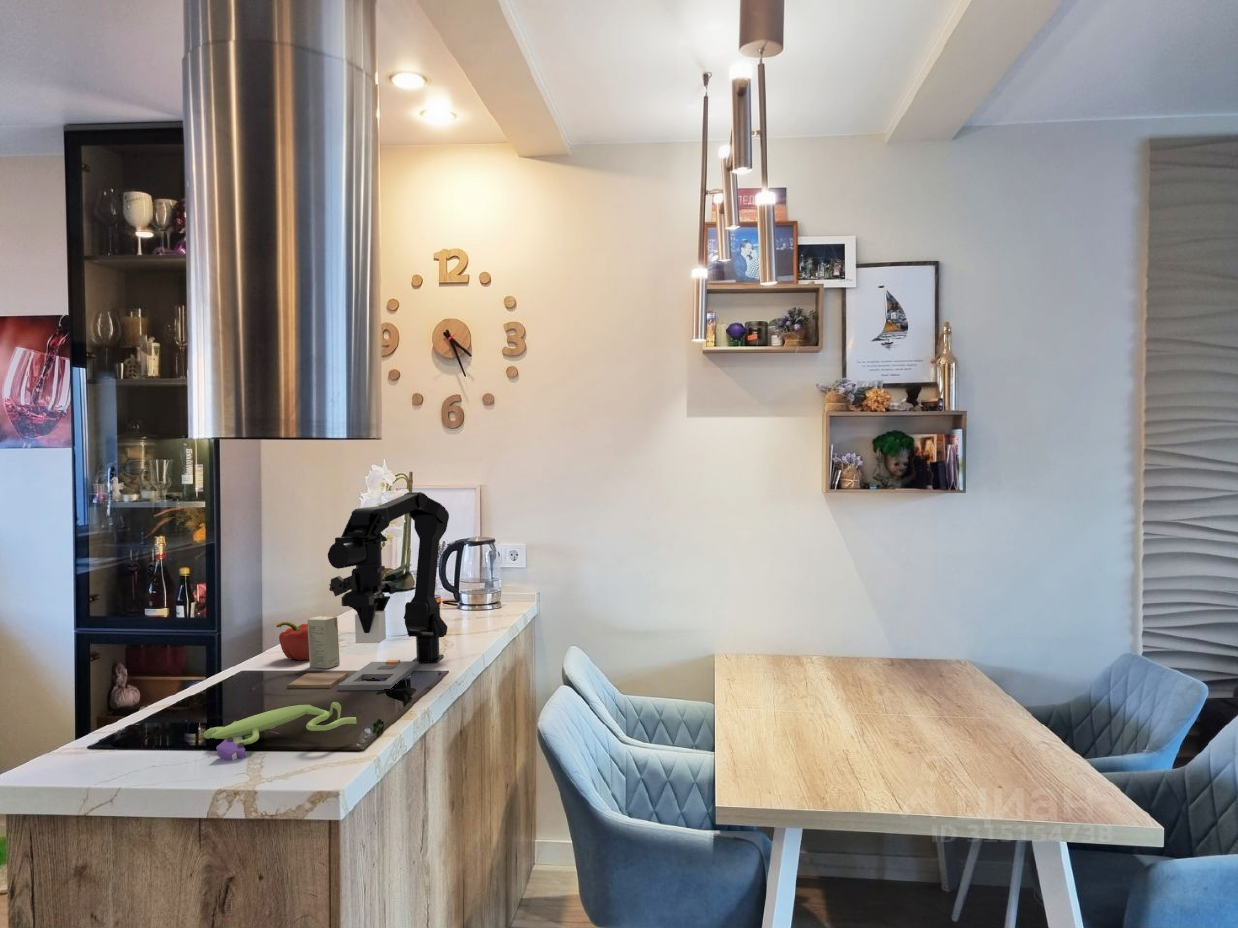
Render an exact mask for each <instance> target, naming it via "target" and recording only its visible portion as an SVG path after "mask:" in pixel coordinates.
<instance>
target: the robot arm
mask: <svg viewBox="0 0 1238 928" xmlns="http://www.w3.org/2000/svg"><path fill="white" fill-rule="evenodd" d="M405 515H408V516H409V518H411V519H412V520H413V521H414V523H413V524H414V527H413V528H414V531H415V533H416V534H417V537H418V539H419V543H418V545H419V546H418V553H417V555H418V556H417V564H416V574H415V575H416V577H415V588H414V595H413V597H412V599H411V600H410V602H409V601H408V602H406V603H405V606H404V615H403V619H404V625H405V628H406V631H407V635H408V637H410V638H411V637H412V638H413V637H414V638H415V641H416V642H415V644H416V648H415V649H416V650H415V651H416V657H415V658H413V660H411V661H419V664H420V663H421V664H422V663H438V662H439V661H441V659H443V658H444V654H440V638H444V637H445V636H446V635H447V633H448V625H447V624H446V622H445V621H444V620H443V619H442V617H441V608H440V607H441V606H440V605H439V603H438V601H437V598H436V597H435V594H436V585H437V583H436V582H437V572H438V559H439V558H438V557H439V548H440V540H441V539H442V537H443V536H444V534H445V533H446V532H447V530H448V523H449V519H450V514H449V511H448V510H447V509H446V507H445V506H444V505H442V504H441V503H440V502H438V501H437V500H434V499H433V498H430V497H429V496H427V494H425V493H423V492H421V491H413V492H412V491H409V492H406V493H404V494H403V495H401V496H398V497H396V498H394V499H392V500H389V501H387V502H385V503H382V504H380V505H376V506H367V507H360V508H359V507H358V508H355V509H353V510H352V511H351V515H350V516H349V519H348V521H347V524H346V525H345V527H344V530H343V532H342V534H341V536H339V537H338V536H337V537H335V538H334V543H333V544H332V545H331V546H330V547H329V549H328V552H327V560H328V563H330V566H331V567H333V568H335V569H337V570H338V569H343V568H350V567H351V568H352V567H355V568H352V569H351V575H349V576H347V577H344V578H342V576H341V575H338V576H336V577H333V578H330V583H329V584H328V585H329V588H328V589H329V591H330V592H332V593H333V595H334V597H338V596H340V595H342V596H341V607H349V608H351V609H353V610H354V611H355V612H356V614H358V616H359V619H360V622H361V625H362V628H363V631H364V633H369V632H370V629H371V626H372V623H373V619H374V616H375V612H376V611H386V610H385V609H386V607H387V605H388V602H389V600H390V599H391V596H389V595H393V594H396V584H395V583H394V582H393V581H391V580H389V581H387V580H386V581H383V571H385V570H386V566H385V565H383V563H382V562H383V561H382V559H383V558H382V542H383V543H384V542H387V541H388V538H387V537H386V536H385V535H384V534H382V532H384V531H385V530H386V529H387V528H389V527H390V523H391V522H392V521H395V520H396V519H398V518H401V517H403V516H405ZM386 593H388V594H389V595H387V596H386V595H385V594H386Z"/></svg>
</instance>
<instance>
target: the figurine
mask: <svg viewBox="0 0 1238 928" xmlns="http://www.w3.org/2000/svg"><path fill="white" fill-rule="evenodd" d="M333 709H335V710H336V712H337V719H336V720H334V721H333V722H330V723H328V724H320V725H317V724H319V723H321V722H324V721H326V720H328V719H329V718H330V717H331V716H332V715H333ZM341 712H342V706H341V704H340V703H339V702H337V701H336V702H335V701H333V702H331V704H330V708H329V710H325V709H322V708H319V707H317V706H313V705H311V704H297V705H291V706H285V707H280V708H276V709H272V710H269V711H265V712H261V713H258V714H253V715H252V716H248V717H246V718H243V719H241V720H238V721H237V720H234V721H233V722H231V724H228V725H226V726H215V727H210V728H209V729H206V730H205V731H204V732H203V735H202V736H203V737H204V738H205V739H207V740H211V739H216V740H218V739H219V740H221V739H223V741H221V743H219V744H218V745H217V746H216V747H215V748H216V753H217V757H218V758H221V759H224V760H228V761H235V760H237V759H243V758H246V748H245V745H251V744H253V743H255V742H257V741H258V740H259V739H260V732H262V731H264V732H269V733H273V734H278V735H281V733H279V732H276V731H271V730H272V729H275V727H278V726H281V725H284V724H286V723H289V722H292V721H295V720H296V719H298V718H301V717H303V716H304V715H312V716H313V715H315V716H316V717H313V718H311V720H309V721H308V722H307V723H306V725H305V729H306V730H308V731H312V732H313V731H315V732H317V731H320V732H321V731H329V730H333V729H336V728H338V727H340V726H342V725H346V724H347V725H348V724H349V725H352V724H353V725H354V724H356V725H357V723H358V722H357V717H356V716H355V717H353V716H348V717H341V714H342V713H341ZM210 738H211V739H210ZM243 738H244V739H243Z"/></svg>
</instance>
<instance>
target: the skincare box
mask: <svg viewBox="0 0 1238 928" xmlns="http://www.w3.org/2000/svg"><path fill="white" fill-rule="evenodd" d="M307 624H308V641H309V661H308V662H309V668H314V669H315V668H316V669H317V668H318V669H330V668H333V667H336V666H339V665H341V664H340V647H339V646H340V643H339V642H340V641H339V625H338V617H337V616H325V615H324V616H323V615H322V616H321V615H319V616H314V617H311V618H307Z"/></svg>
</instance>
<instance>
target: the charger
mask: <svg viewBox="0 0 1238 928" xmlns="http://www.w3.org/2000/svg"><path fill="white" fill-rule="evenodd" d="M354 627H355V629H354V632H355V633H354V634H355V637H354V638H355V644H379V643H382V642H383V641H385V640H386V639H387V631H386V630H387V627H386V610H384V611H376V612H375V616H374V619H373V623H372V626H371V629H370V632H369V633H364V631H363V628H362V625H361V622H360V619H359V616H358V614H357V613H355V614H354Z"/></svg>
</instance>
